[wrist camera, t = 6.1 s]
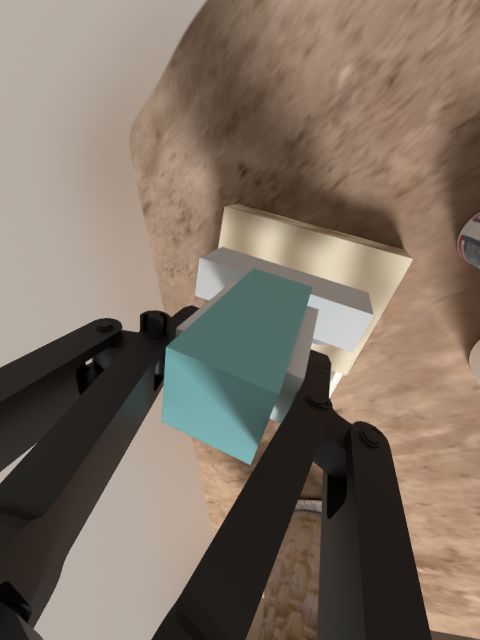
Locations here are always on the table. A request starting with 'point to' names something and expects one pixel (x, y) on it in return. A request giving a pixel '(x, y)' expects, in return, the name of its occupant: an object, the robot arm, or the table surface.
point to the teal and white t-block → (249, 346)
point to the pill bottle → (470, 241)
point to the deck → (319, 261)
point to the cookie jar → (295, 579)
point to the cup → (475, 361)
